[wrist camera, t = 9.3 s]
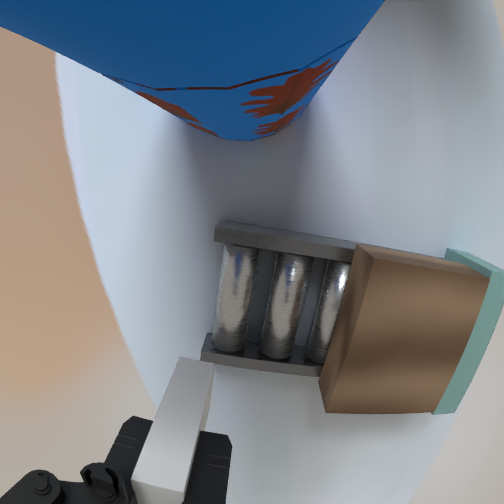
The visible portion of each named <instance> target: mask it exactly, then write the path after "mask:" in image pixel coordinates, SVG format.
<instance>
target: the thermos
mask: <svg viewBox="0 0 504 504" xmlns="http://www.w3.org/2000/svg"><path fill="white" fill-rule="evenodd" d="M384 1H385V0H0V27H2V28H5V29H7V30H10V31H12V32H14V33H17V34H19V35H21V36H23V37H26V38H28V39H30V40H32V41H34V42H37V43H39V44H41V45H43V46H45V47H47V48H50V49H52V50H54V51H56V52H58V53H60V54H62V55H64V56H66V57H68V58H70V59H72V60H74V61H76V62H78V63H80V64H82V65H84V66H86V67H88V68H90V69H92V70H94V71H96V72H98V73H101V74H102V75H103V76H105V77H107V78H109V79H111V80H113V81H115V82H116V83H118V84H120V85H122V86H124V87H126V88H127V89H129V90H131V91H133V92H135V93H136V94H138V95H140V96H142V97H144V98H145V99H147V100H149V101H151V102H152V103H154V104H156V105H158V106H159V107H161V108H163V109H164V110H166V111H168V112H170V113H171V114H173V115H175V116H176V117H178V118H180V119H181V120H183V121H185V122H186V123H188V124H190V125H191V126H193V127H195V128H197V129H200V130H203V131H205V132H208V133H210V134H213V135H216V136H218V137H221V138H224V139H227V140H246V141H252V140H256V139H259V138H263V137H266V136H270V135H273V134H275V133H277V132H278V131H279V130H281V129H282V128H284V127H285V126H287V125H288V124H290V123H291V122H293V121H294V120H295V119H296V118H298V117H299V116H300V115H301V114H302V112H303V111H304V110H305V108H306V107H307V105H308V104H309V103H310V101H311V100H312V98H313V97H314V95H315V94H316V93H317V91H318V90H319V88H320V87H321V86H322V84H323V83H324V82H325V80H326V79H327V77H328V76H329V75H330V73H331V72H332V70H333V69H334V68H335V66H336V65H337V64H338V62H339V61H340V60H341V58H342V57H343V55H344V54H345V53H346V51H347V50H348V49H349V47H350V46H351V45H352V43H353V42H354V41H355V39H356V38H357V37H358V35H359V34H360V33H361V31H362V30H363V29H364V27H365V26H366V25H367V23H368V22H369V21H370V19H371V18H372V17H373V15H374V14H375V13H376V12H377V10H378V9H379V8H380V6H381V5H382V4H383V2H384Z"/></svg>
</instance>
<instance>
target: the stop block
mask: <svg viewBox="0 0 504 504" xmlns="http://www.w3.org/2000/svg"><path fill="white" fill-rule="evenodd" d="M445 259H446V260H448V261H452V262H457V263H462V264H465V265H466V266H468V267H470V268H472V269H474V270H475V271H477V272H479V273H481V274H483V275H484V276H486V277H488V278H490V282H489V285H488V288H487V291H486V294H485V297H484V300H483V303H482V306H481V309H480V312H479V315H478V317H477V320H476V323H475V325H474V328H473V331H472V333H471V336H470V338H469V341H468V343H467V345H466V348H465V350H464V353H463V355H462V357H461V359H460V362H459V364H458V366H457V368H456V370H455V372H454V375H453V377H452V379H451V381H450V383H449V385H448V387H447V389H446V391H445V393H444V395H443V397H442V398H441V400H440V402H439V404H438V406H437V408H436V410H435V411H434V412H431V413H432V415H436V414H447V413H454V412H455V411H456V409H457V407H458V405H459V403H460V402H461V400H462V398H463V396H464V394H465V392H466V390H467V389H468V387H469V385H470V383H471V381H472V379H473V377H474V375H475V373H476V370H477V368H478V366H479V364H480V362H481V360H482V357H483V355H484V353H485V351H486V348H487V346H488V344H489V341H490V339H491V336H492V334H493V331H494V329H495V326H496V324H497V321H498V318H499V316H500V313H501V310H502V307H503V304H504V270H502V269H500V268H498V267H496V266H494V265H492V264H490V263H488V262H486V261H484V260H482V259H480V258H478V257H476V256H474V255H472V254H470V253H467V252H463V251H458V250H454V249H449V248H447V252H446V256H445Z"/></svg>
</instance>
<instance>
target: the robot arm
mask: <svg viewBox="0 0 504 504" xmlns="http://www.w3.org/2000/svg"><path fill="white" fill-rule="evenodd" d="M214 364H215V363H210V362H205V361H199V360H194V359H189V358H183V357H180V358H179V360H178V362H177V365H176V367H175V370H174V372H173V374H172V377H171V379H170V382H169V384H168V387H167V389H166V392H165V394H164V396H163V399H162V401H161V404H160V406H159V409H158V411H157V414H156V416H155V419H154V421H151V420H147V419H143V418H139V417H136V416H132V417H131V418H130V419H128V420H127V421H126V422H124V423H123V425H122V427H121V429H120V431H119V434H118V436H117V437H116V439H115V442H114V444H113V445H112V448H111V450H110V452H109V454H108V456H107V458H106V460H105V462H104V463H100V462H98V463H91V464H89V465H87V466H85V467H84V468H83V469H82V470H81V471H80V474H81V476H82V478H83V481H84V482H68V481H60V480H58V479H57V478H56V477H55V476H54V475H53V474H52V473H50V472H48V471H45V470H34V471H31V472H29V473H28V474H26V475H25V476H24V477H23V478H22V479H21V480H20V481H19V482H17V483H16V484H15V485H14V486H13V487H12V488H11V489H10V490H9V491H8V492H6V493H5V494H4V495H3V496H2V497H1V498H0V504H226V493H227V485H228V477H229V468H230V460H231V452H232V445H231V442H230V440H229V437H228V435H224V434H218V433H212V432H206V431H205V426H206V422H207V417H208V412H209V408H210V399H211V390H212V381H213V373H214Z"/></svg>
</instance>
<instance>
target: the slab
mask: <svg viewBox="0 0 504 504" xmlns="http://www.w3.org/2000/svg"><path fill="white" fill-rule="evenodd" d="M489 282H490V278H488V277H486V276H484V275H483V274H481V273H479V272H477V271H475V270H474V269H472V268H470V267H468V266H466V265H465V264H462V263H457V262H452V261H447V260H442V259H437V258H432V257H427V256H422V255H417V254H411V253H406V252H401V251H395V250H390V249H385V248H379V247H374V246H368V245H363V244H357V243H356V247H355V251H354V256H353V260H352V264H351V269H350V273H349V277H348V281H347V285H346V289H345V293H344V297H343V300H342V304H341V308H340V312H339V315H338V319H337V322H336V326H335V329H334V333H333V336H332V340H331V343H330V347H329V350H328V353H327V356H326V360H325V363H324V366H323V369H322V372H321V376H320V379H319V387H320V391H321V395H322V399H323V404H324V408H325V412H326V413H347V414H402V413H424V412H434V411H435V410H436V408H437V406H438V404H439V402H440V400H441V398H442V397H443V395H444V393H445V391H446V389H447V387H448V385H449V383H450V381H451V379H452V377H453V375H454V372H455V370H456V368H457V366H458V364H459V362H460V359H461V357H462V355H463V353H464V350H465V348H466V345H467V343H468V341H469V338H470V336H471V333H472V331H473V328H474V325H475V323H476V320H477V317H478V315H479V312H480V309H481V306H482V303H483V300H484V297H485V294H486V291H487V288H488V285H489Z"/></svg>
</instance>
